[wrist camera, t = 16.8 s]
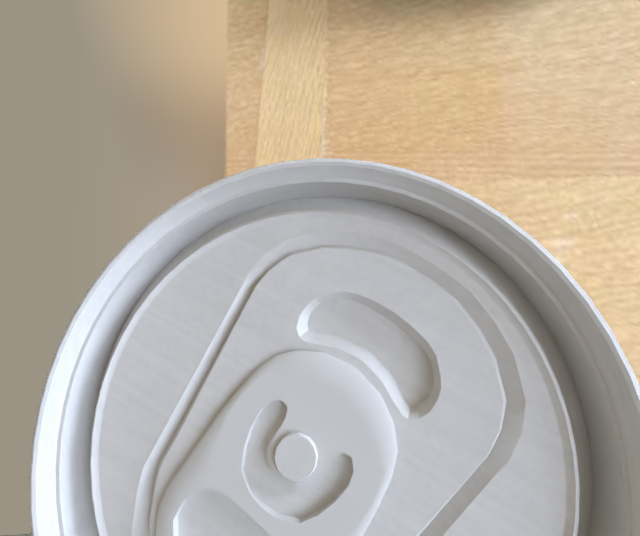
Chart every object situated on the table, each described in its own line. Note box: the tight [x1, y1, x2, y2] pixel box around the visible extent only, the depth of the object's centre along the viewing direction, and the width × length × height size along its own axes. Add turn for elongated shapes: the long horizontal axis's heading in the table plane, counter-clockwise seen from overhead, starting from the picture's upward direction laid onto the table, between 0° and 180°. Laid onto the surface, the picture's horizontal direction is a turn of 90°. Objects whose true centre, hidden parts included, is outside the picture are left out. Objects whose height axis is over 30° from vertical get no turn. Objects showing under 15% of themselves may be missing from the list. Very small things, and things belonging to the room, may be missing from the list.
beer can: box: [29, 159, 640, 536], centre depth 10 cm, size 6×6×15 cm
